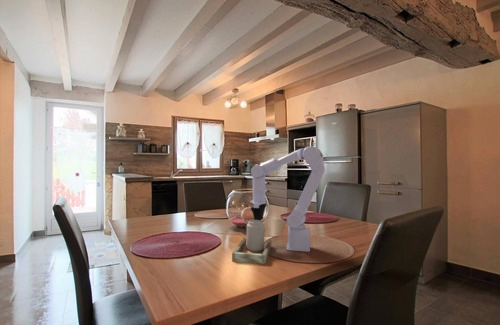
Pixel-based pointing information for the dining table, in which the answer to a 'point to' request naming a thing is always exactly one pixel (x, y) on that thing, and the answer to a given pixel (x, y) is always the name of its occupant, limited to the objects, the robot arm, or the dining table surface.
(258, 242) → the can
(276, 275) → the dining table surface
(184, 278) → the dining table surface
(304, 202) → the robot arm
